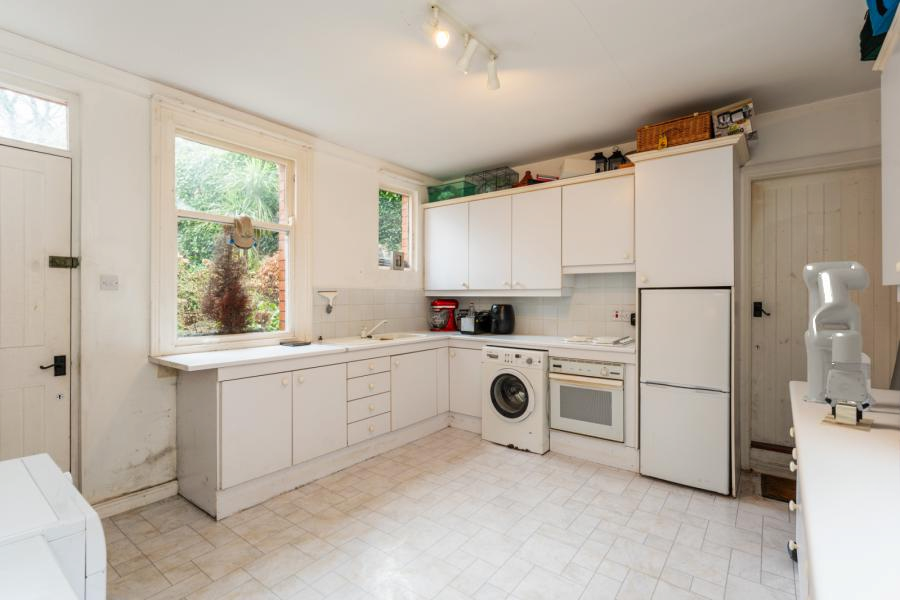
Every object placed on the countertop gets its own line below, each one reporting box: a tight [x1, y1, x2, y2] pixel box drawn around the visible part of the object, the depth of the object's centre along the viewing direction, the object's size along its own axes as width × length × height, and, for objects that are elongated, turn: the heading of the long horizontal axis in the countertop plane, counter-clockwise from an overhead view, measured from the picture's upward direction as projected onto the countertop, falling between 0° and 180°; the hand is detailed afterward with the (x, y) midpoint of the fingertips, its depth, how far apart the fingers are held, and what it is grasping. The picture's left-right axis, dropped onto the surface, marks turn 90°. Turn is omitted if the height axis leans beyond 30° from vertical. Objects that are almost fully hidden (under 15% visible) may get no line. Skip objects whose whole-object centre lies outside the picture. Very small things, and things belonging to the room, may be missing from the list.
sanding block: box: [836, 401, 858, 426], centre depth 146 cm, size 8×5×6 cm, turn 132°
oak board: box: [820, 411, 875, 433], centre depth 147 cm, size 22×12×1 cm, turn 132°
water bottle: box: [845, 351, 872, 412], centre depth 163 cm, size 7×7×25 cm
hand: (846, 418), depth 146 cm, fingers closed on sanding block, 5 cm apart
